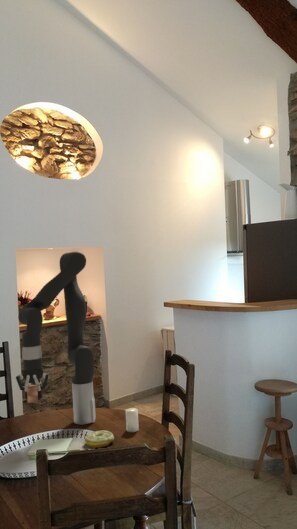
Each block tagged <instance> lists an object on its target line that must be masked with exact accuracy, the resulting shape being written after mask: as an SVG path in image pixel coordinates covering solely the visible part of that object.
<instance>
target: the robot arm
mask: <svg viewBox="0 0 297 529" xmlns="http://www.w3.org/2000/svg"><path fill="white" fill-rule="evenodd" d="M86 265H87V257H86V256H85V254H84V253H83V252H81V251H70V252H65V253H63V254H62V255H61V256H60V258H59V270H60V271H59V272H58V273H57V274H56V275H55V276H54V277H53V278H52V279H50V280H49V281H48V282H46V283H45V284H44V285H43V286H42V288H41V289H40V290H39V291H38V292H37V294H36V295H35V297H34V298H32V299H30V301H29V302H27V303H26V304H25V305H24V306H22V308H21V309H20V311H19V312H18V321H19V322H20V324H22V325H25V326H26V330H25V331H24V332H23V333H22V334H21V335H22V339H21V340H22V342H21V343H22V352H21V353H22V355H21V358H22V373H21V374H18V375H16V376H15V380H16V382H17V385H18V387H19V390H20V391H24V394H25V396H24V398H25V400H26V402H28V399H27V387H29V386H30V385H32V383H33V384H35V385H36V386H37V387H38V400H39V401H41V400H42V399H43V396H44V394H43V390H45V389H46V388H47V387H48V384H49V381H50V377H51V373H46V372H45V371H44V370H43V359H42V358H43V355H42V354H43V351H42V347H41V346H42V345H41V333H42V332H41V331H42V328H43V321H44V320H43V314H42V311H43V310H46V309H48V308H49V307H50V306H51V305H52V303H53V302H54V301H55V300H56V298H57V296H59V295H60V293H61V292H62V291H63V297H64V307H65V308H64V309H65V319H66V331H67V358H68V359H67V360H68V362H69V363H70V364H71V365H73V366H74V369H75V370H74V371H75V372H74V375H72V376H71V390H72V411H73V423H74V424H76V425H89V424H92V423H95V422H96V402H95V401H96V400H95V395H94V383H93V382H94V375H95V355H94V351H93V349H92V348H91V347H89V346H86V345H85V343H84V328H85V324H86V322H87V321H86V320H87V305H86V304H87V303H86V299H85V296H84V294H83V292H82V290H81V288H80V287H79V284H78V279H77V275H79V273H81V272H82V271H83V270H84V269H85V268H86ZM42 377H43V379H44V381H43V384H42V380H41V378H42ZM23 379H24V380H25V383H24V381H23Z"/></svg>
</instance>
